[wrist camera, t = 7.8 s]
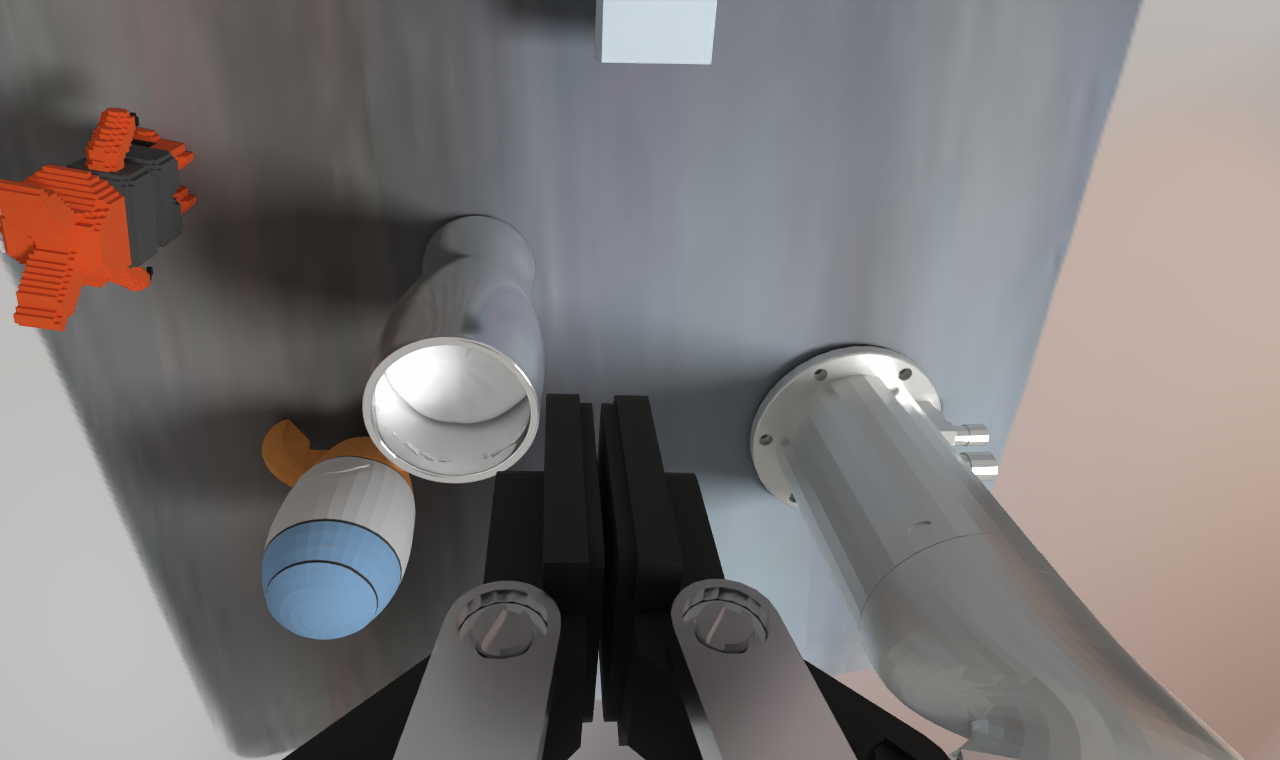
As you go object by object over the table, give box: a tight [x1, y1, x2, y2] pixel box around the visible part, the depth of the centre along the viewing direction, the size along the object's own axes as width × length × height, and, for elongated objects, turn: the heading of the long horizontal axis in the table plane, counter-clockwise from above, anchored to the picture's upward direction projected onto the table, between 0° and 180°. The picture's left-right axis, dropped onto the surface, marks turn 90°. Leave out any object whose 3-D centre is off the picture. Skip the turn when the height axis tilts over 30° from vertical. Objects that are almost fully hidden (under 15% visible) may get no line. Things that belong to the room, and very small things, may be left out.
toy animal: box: [0, 108, 196, 331], centre depth 31 cm, size 8×6×12 cm
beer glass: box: [362, 216, 545, 483], centre depth 34 cm, size 7×7×15 cm
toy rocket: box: [261, 419, 415, 640], centre depth 40 cm, size 10×11×15 cm
